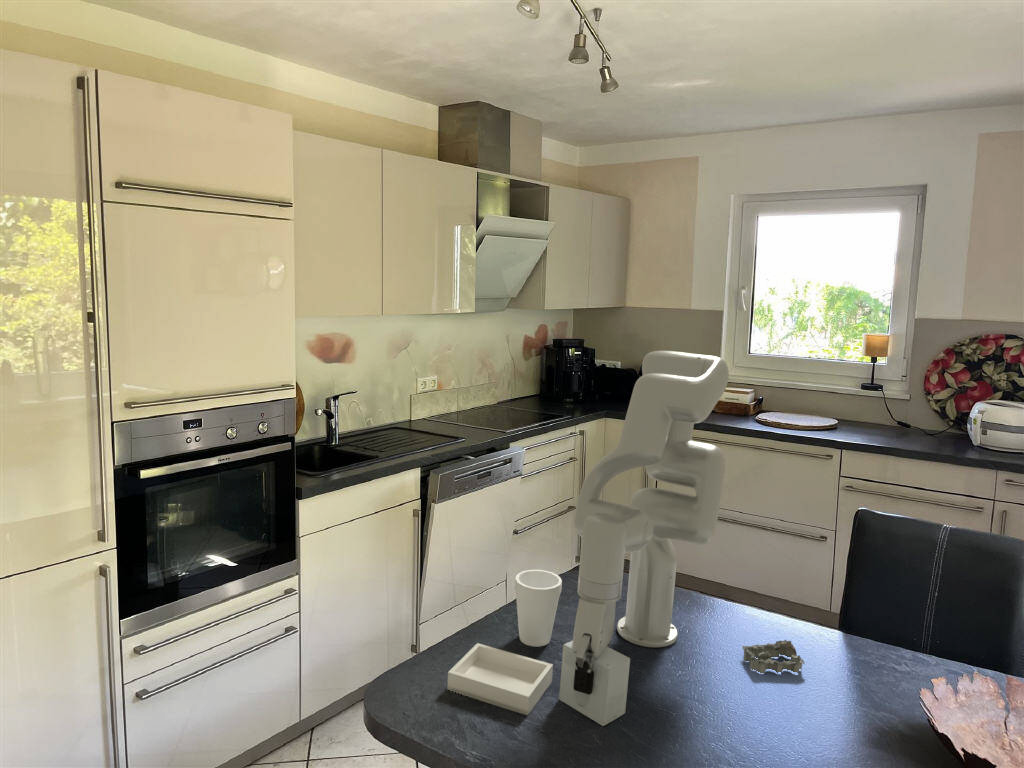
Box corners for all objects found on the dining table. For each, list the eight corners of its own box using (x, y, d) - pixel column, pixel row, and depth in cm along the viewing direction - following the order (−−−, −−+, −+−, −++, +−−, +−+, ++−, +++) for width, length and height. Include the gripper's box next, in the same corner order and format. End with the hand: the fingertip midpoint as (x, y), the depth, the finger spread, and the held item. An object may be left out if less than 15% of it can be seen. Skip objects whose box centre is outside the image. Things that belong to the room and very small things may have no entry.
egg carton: (790, 658, 150) (793, 639, 149) (805, 678, 143) (808, 659, 142) (738, 655, 150) (741, 636, 149) (751, 676, 142) (753, 656, 142)
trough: (476, 659, 142) (477, 643, 142) (551, 682, 136) (553, 664, 136) (447, 690, 132) (448, 672, 131) (527, 715, 126) (528, 696, 125)
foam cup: (553, 653, 146) (557, 592, 144) (508, 646, 148) (511, 585, 146) (560, 631, 155) (564, 573, 153) (517, 624, 157) (520, 567, 155)
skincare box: (626, 713, 128) (632, 657, 126) (603, 727, 124) (608, 669, 122) (581, 686, 135) (585, 633, 134) (557, 699, 131) (561, 644, 129)
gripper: (593, 565, 137) (586, 652, 139) (562, 598, 121) (554, 696, 123) (633, 574, 134) (624, 662, 136) (606, 609, 118) (597, 709, 120)
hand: (591, 678), depth 130 cm, fingers open, 9 cm apart
